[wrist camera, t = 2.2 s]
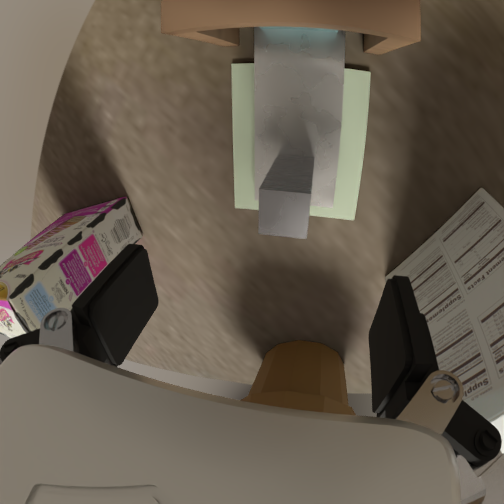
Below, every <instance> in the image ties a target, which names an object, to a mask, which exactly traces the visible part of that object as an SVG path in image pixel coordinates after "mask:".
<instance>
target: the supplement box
mask: <svg viewBox="0 0 504 504" xmlns="http://www.w3.org/2000/svg"><path fill="white" fill-rule="evenodd" d="M394 275H398V276H407V277H409V279H410V282H411V285H412V288H413V292H414V295H415V298H416V301H417V305H418V308H419V311H420V313H423V314H424V315H425V317H426V320H427V324H428V327H429V331H430V335H431V338H432V342H433V346H434V350H435V354H436V358H437V363H438V367H439V370H445V371H449V372H451V373H453V374H454V375H456V376H457V377H458V378H459V380H460V381H461V383H462V385H463V389H464V395H463V398H462V400H463V401H465V402H466V403H467V404H468V405H469V406H471V407H472V408H473V409H474V410H476V411H477V412H478V413H479V414H480V415H482V416H483V417H484V418H485V419H486V420H488V421H489V422H490V423H491V424H493V425H494V426H495V427H496V428H497V429H498V431H499V433H500V435H501V440H502V444H501V449H500V450H501V452H502V454H503V453H504V208H503V207H502V206H501V205H500V204H499V203H498V202H497V201H496V200H495V199H494V198H493V197H492V196H491V195H490V194H489V193H487V192H486V191H485V190H484V189H483V188H480V189H479V190H478V191H477V192H476V193H475V194H474V195H473V196H472V197H471V198H470V199H469V200H468V201H467V202H466V203H465V204H464V205H463V206H462V207H461V208H460V209H459V210H458V211H457V212H456V213H455V214H454V215H453V216H452V217H451V218H450V219H449V220H448V221H447V222H446V223H445V224H444V225H443V226H442V227H441V228H440V229H439V230H438V231H436V232H435V233H434V234H433V235H432V236H431V237H430V238H429V239H428V240H427V241H426V242H425V243H424V244H422V245H421V246H420V247H419V248H418V249H417V250H416V251H415V252H414V253H412V254H411V255H410V256H409V257H408V258H407V259H406V260H404V261H403V262H402V263H401V264H400V265H399V266H398V267H396V268H395V269H394V270H393V271H392V272H391V273H389V274H388V275H387V276H386V277H385V281H386V282H387V280H388V279H392V277H393V276H394Z"/></svg>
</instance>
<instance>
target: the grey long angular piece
mask: <svg viewBox="0 0 504 504" xmlns="http://www.w3.org/2000/svg"><path fill="white" fill-rule="evenodd" d="M344 66H345V31H343V30H334V29H323V28H309V27H280V26H268V27H254V104H255V200H258V201H259V234H264V235H273V236H283V237H291V238H300V239H307V232H308V223H309V214H310V206H318V207H327V208H333V203H334V195H335V187H336V178H337V168H338V158H339V148H340V136H341V123H342V109H343V91H344Z"/></svg>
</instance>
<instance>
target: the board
mask: <svg viewBox="0 0 504 504" xmlns="http://www.w3.org/2000/svg"><path fill="white" fill-rule="evenodd" d="M231 65H232V121H233V160H234V194H235V208H242V209H253V210H259V201H258V200H255V104H254V63H241V64H231ZM370 75H371V72H367V71H361V70H354V69H346V68H344V91H343V109H342V123H341V136H340V148H339V158H338V168H337V178H336V187H335V195H334V203H333V208H327V207H318V206H310V214H309V215H312V216H321V217H330V218H338V219H346V220H354V218H355V212H356V206H357V200H358V193H359V187H360V180H361V173H362V165H363V157H364V148H365V139H366V130H367V119H368V107H369V93H370Z"/></svg>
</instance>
